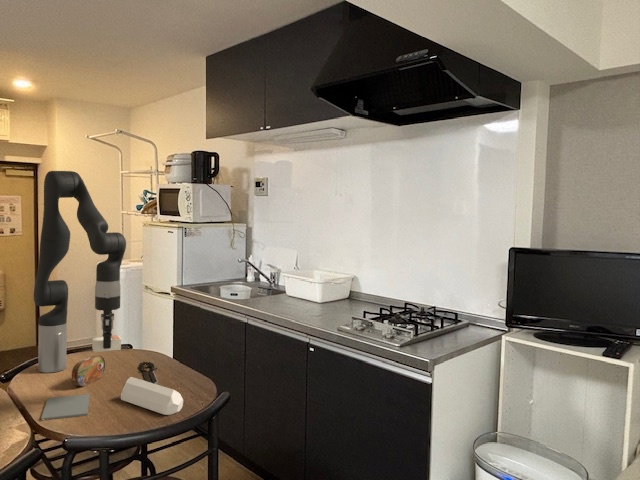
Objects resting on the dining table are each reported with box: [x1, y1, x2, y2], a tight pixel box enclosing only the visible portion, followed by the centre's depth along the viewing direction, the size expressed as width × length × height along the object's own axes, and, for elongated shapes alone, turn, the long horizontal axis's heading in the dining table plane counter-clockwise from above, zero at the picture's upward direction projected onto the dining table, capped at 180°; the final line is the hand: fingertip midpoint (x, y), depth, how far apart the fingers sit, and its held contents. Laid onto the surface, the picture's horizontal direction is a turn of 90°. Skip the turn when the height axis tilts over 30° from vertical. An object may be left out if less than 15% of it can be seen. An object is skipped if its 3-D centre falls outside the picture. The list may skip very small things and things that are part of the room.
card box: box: [91, 334, 122, 353], centre depth 161 cm, size 4×8×4 cm, turn 121°
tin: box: [71, 355, 106, 387], centre depth 173 cm, size 15×3×8 cm, turn 168°
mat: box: [40, 393, 91, 420], centre depth 151 cm, size 16×12×1 cm
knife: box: [138, 361, 159, 384], centre depth 183 cm, size 25×6×1 cm, turn 20°
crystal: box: [120, 376, 184, 416], centre depth 155 cm, size 7×7×24 cm
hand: (107, 345), depth 161 cm, fingers closed on card box, 5 cm apart
